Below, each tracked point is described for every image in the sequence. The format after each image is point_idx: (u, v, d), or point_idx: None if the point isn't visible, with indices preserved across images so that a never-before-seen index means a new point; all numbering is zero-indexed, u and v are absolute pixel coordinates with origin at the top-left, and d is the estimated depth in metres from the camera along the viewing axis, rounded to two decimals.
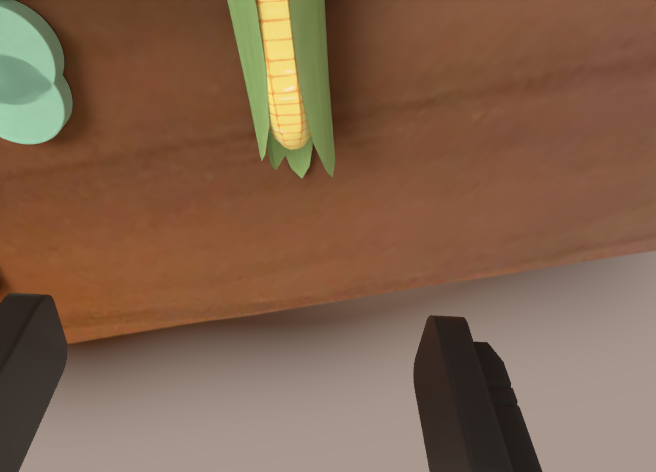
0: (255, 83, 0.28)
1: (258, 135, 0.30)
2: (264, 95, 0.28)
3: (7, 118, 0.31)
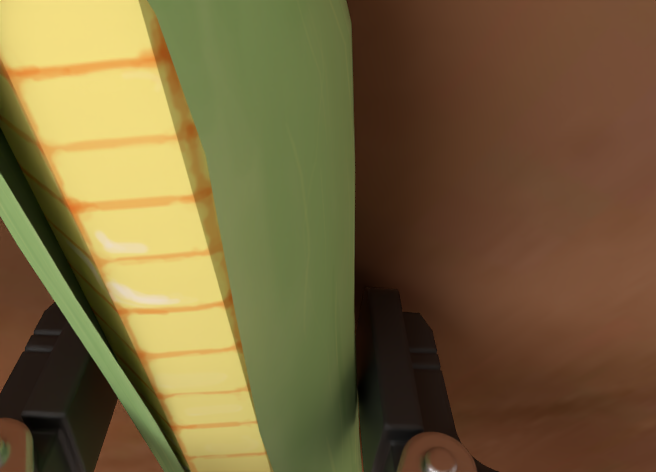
0: None
1: None
2: None
3: None
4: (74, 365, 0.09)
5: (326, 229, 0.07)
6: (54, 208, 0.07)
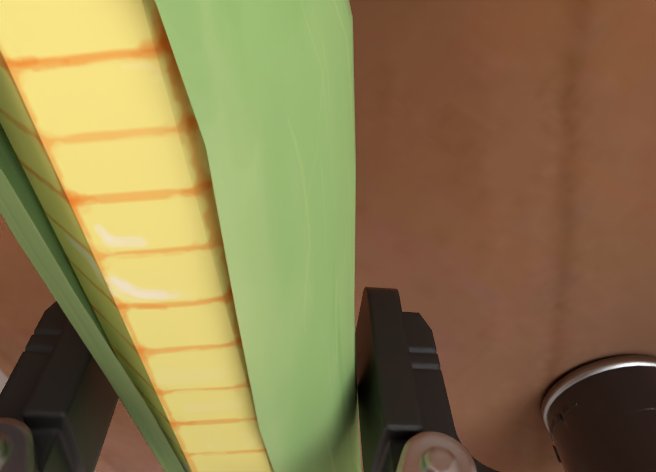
0: None
1: None
2: None
3: None
4: (74, 365, 0.09)
5: (327, 224, 0.07)
6: (53, 202, 0.06)
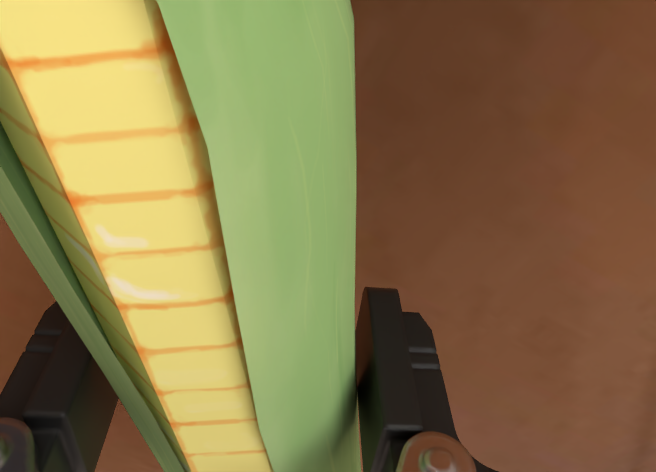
0: None
1: None
2: None
3: None
4: (75, 365, 0.09)
5: (328, 225, 0.07)
6: (54, 202, 0.06)
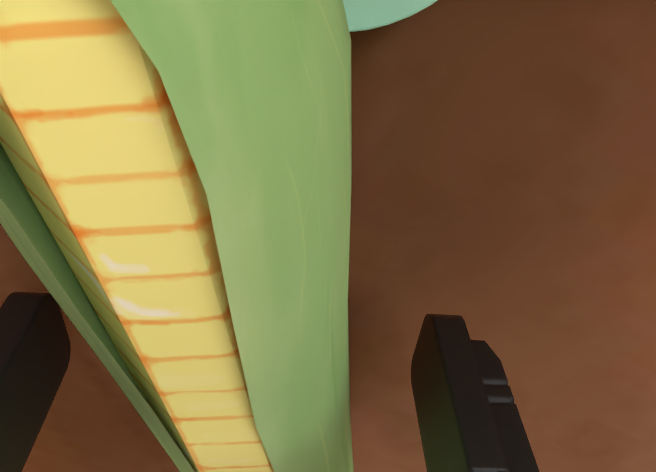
0: (179, 465, 0.12)
1: None
2: None
3: None
4: None
5: (322, 245, 0.07)
6: (58, 226, 0.07)
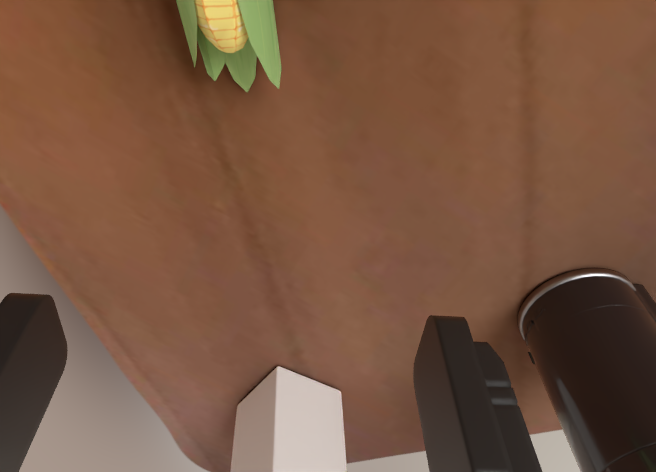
0: None
1: (187, 34, 0.26)
2: None
3: None
4: None
5: None
6: None
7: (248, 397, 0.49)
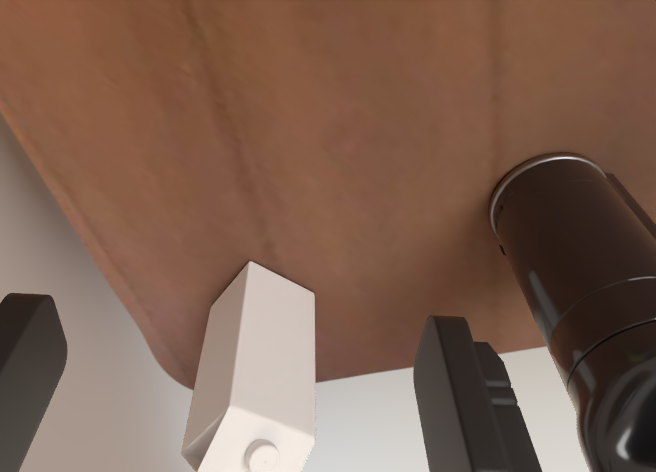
0: None
1: None
2: None
3: None
4: None
5: None
6: None
7: (221, 296, 0.49)
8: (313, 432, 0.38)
